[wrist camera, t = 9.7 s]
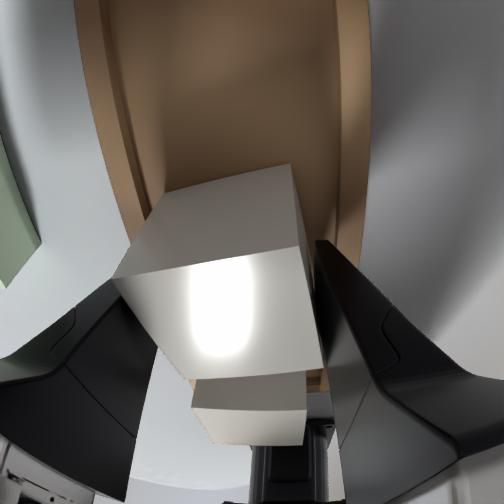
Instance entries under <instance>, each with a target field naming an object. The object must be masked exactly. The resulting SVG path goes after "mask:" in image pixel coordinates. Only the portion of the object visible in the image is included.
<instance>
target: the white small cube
mask: <svg viewBox="0 0 504 504" xmlns="http://www.w3.org/2000/svg"><path fill="white" fill-rule="evenodd" d="M111 280H112V281H113V283H114V284H115V286H116V288H117V289H118V291H119V292H120V294H121V295H122V297H123V298H124V300H125V301H126V303H127V304H128V305H129V307H130V308H131V310H132V311H133V313H134V314H135V316H136V317H137V318H138V320H139V321H140V323H141V324H142V325H143V327H144V328H145V330H146V331H147V332H148V334H149V335H150V336H151V338H152V339H153V340H154V342H155V343H156V344H157V346H158V347H159V348H160V350H161V351H162V352H163V354H164V355H165V356H166V358H167V359H168V360H169V361H170V363H171V364H172V365H173V366H174V368H175V369H176V370H177V371H178V373H179V374H180V375H181V376H182V378H183V379H213V378H231V377H245V376H258V375H269V374H279V373H288V372H296V371H304V370H312V369H319V368H324V366H323V355H322V344H321V337H320V332H319V324H318V317H317V309H316V301H315V290H314V276H313V266H312V261H311V256H310V251H309V246H308V241H307V236H306V231H305V227H304V222H303V217H302V213H301V208H300V203H299V199H298V194H297V190H296V186H295V181H294V177H293V173H292V168H291V164H290V163H289V164H284V165H280V166H275V167H270V168H265V169H261V170H256V171H252V172H247V173H243V174H239V175H234V176H230V177H226V178H222V179H218V180H214V181H210V182H206V183H202V184H198V185H194V186H190V187H186V188H183V189H179V190H175V191H171V192H168V193H164V194H162V196H161V197H160V199H159V201H158V202H157V204H156V205H155V207H154V208H153V210H152V211H151V213H150V215H149V216H148V218H147V219H146V221H145V223H144V224H143V226H142V227H141V229H140V231H139V232H138V234H137V236H136V237H135V239H134V240H133V242H132V244H131V246H130V247H129V249H128V251H127V252H126V254H125V256H124V257H123V259H122V261H121V263H120V264H119V266H118V268H117V270H116V271H115V273H114V275H113V277H112V279H111Z"/></svg>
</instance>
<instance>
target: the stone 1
mask: <svg viewBox="0 0 504 504" xmlns="http://www.w3.org/2000/svg"><path fill="white" fill-rule="evenodd" d="M191 408H192V410H193V412H194V413H195V415H196V417H197V418H198V420H199V422H200V423H201V425H202V427H203V428H204V430H205V431H206V433H207V435H208V436H209V438H210V439H211V441H212V443H216V444H231V445H256V446H292V445H302V444H303V437H304V430H305V423H306V415H307V391H306V370H304V371H296V372H288V373H279V374H269V375H258V376H245V377H231V378H213V379H196V384H195V389H194V394H193V400H192V405H191Z"/></svg>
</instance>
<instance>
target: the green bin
mask: <svg viewBox="0 0 504 504" xmlns="http://www.w3.org/2000/svg"><path fill="white" fill-rule="evenodd" d="M40 245H41V242H40V240H39V237H38V235H37V233H36V231H35V229H34V226H33V224H32V222H31V219H30V217H29V215H28V212H27V210H26V207H25V205H24V202H23V200H22V197H21V195H20V192H19V190H18V187H17V184H16V181H15V179H14V176H13V173H12V170H11V167H10V164H9V161H8V158H7V155H6V152H5V149H4V145H3V142H2V138H1V135H0V288H3V289H6V288H7V287H8V286H9V284H10V283H11V282H12V280H13V279H14V278H15V276H16V275H17V274H18V272H19V271H20V270H21V268H22V267H23V266H24V265H25V263H26V262H27V261H28V260H29V258H30V257H31V256H32V255H33V253H34V252H35V251H36V250H37V249H38V247H39V246H40Z"/></svg>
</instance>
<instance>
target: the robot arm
mask: <svg viewBox="0 0 504 504" xmlns="http://www.w3.org/2000/svg"><path fill="white" fill-rule="evenodd" d="M313 276H314V290H315V301H316V309H317V317H318V324H319V332H320V337H321V342H322V348H323V353H324V359H325V364H326V370H327V376H328V381H329V387H330V393H331V399H332V405H333V412H334V418H335V420H314V421H306V423H305V430H304V437H303V444H302V445H292V446H256V445H250V447H251V450H252V464H251V477H250V490H249V503H248V504H504V380H499V379H493V378H487V377H482V376H477V375H475V374H472V373H470V372H468V371H466V370H465V369H463V368H462V367H460V366H459V365H458V364H457V363H455V361H453V360H452V359H451V358H450V357H449V356H447V354H445V353H444V352H443V351H442V350H441V349H440V348H439V347H437V346H436V345H435V344H434V343H433V342H432V341H431V340H429V339H428V338H427V337H426V336H425V335H424V334H423V333H422V332H420V331H419V330H418V329H417V328H416V327H415V326H414V325H413V324H412V323H411V322H410V321H409V320H408V319H407V318H406V317H405V316H404V315H403V314H402V313H401V312H400V311H399V310H398V309H397V308H396V307H395V306H394V305H392V303H391V302H390V301H389V300H388V299H387V298H386V297H385V296H384V295H383V294H382V293H381V292H380V291H379V290H378V289H377V288H376V287H375V286H374V285H373V284H372V283H371V282H370V281H369V280H368V278H367V277H366V276H365V275H364V274H363V273H362V272H361V271H360V270H359V269H357V268H356V267H355V266H354V265H353V264H352V263H351V262H350V261H349V260H348V259H347V258H346V257H345V256H344V255H343V254H342V253H341V252H340V251H339V250H338V249H337V248H336V247H335V246H334V245H333V244H332V243H331V242H330V241H329V240H315V241H314V244H313ZM111 279H112V278H110V279H109V280H108V281H106V282H105V283H104V284H102V285H101V286H100V287H99V288H97V289H96V290H95V291H94V292H92V293H91V294H90V295H88V296H87V297H86V298H85V299H83V300H82V301H81V302H80V303H78V304H77V305H76V306H75V307H73V308H72V309H71V310H70V311H68V312H67V313H66V314H65V315H64V316H62V317H61V318H60V319H58V320H57V321H56V322H55V323H53V324H52V325H51V326H49V327H48V328H47V329H45V330H44V331H43V332H41V333H40V334H38V335H37V336H36V337H34V338H33V339H32V340H30V341H29V342H28V343H26V344H25V345H23V346H22V347H21V348H19V349H18V350H17V351H15V352H14V353H12V354H11V355H9V356H7V357H5V358H2V359H0V504H93V500H94V496H95V494H97V495H100V496H103V497H106V498H110V499H113V500H117V501H120V502H123V503H124V502H125V498H126V492H127V486H128V480H129V475H130V470H131V465H132V459H133V454H134V449H135V444H136V438H137V434H138V429H139V424H140V420H141V415H142V411H143V406H144V402H145V398H146V393H147V389H148V385H149V381H150V377H151V372H152V368H153V364H154V360H155V357H156V353H157V349H158V346H157V344H156V343H155V342H154V340H153V339H152V338H151V336H150V335H149V334H148V332H147V331H146V330H145V328H144V327H143V325H142V324H141V323H140V321H139V320H138V318H137V317H136V316H135V314H134V313H133V311H132V310H131V308H130V307H129V305H128V304H127V303H126V301H125V300H124V298H123V297H122V295H121V294H120V292H119V291H118V289H117V288H116V286H115V284H114V283H113V281H112V280H111ZM335 428H336V431H337V438H338V445H339V449H340V451H339V452H340V460H341V467H342V475H343V483H344V491H345V499H342V500H341V501H331V502H329V490H328V457H327V449H328V447H329V444H330V442H331V439H332V436H333V434H334V431H335ZM223 504H243V503H233V502H229V501H224V503H223Z"/></svg>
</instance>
